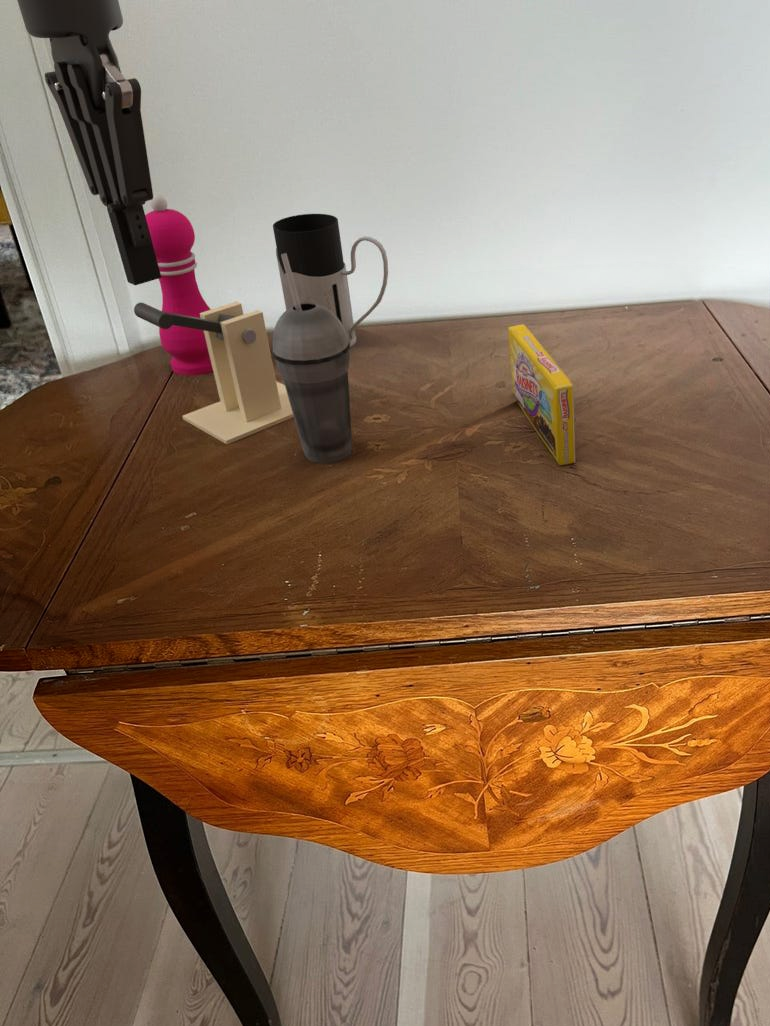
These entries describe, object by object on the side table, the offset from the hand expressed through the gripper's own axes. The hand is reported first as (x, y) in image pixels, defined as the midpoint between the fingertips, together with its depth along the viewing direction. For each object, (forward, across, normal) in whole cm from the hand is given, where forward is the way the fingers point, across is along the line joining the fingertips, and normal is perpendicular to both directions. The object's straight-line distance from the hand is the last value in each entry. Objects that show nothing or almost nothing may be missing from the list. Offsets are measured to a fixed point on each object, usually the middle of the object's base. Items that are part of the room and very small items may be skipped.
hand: (144, 279), depth 89 cm
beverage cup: (+17, +14, +8) cm, 24 cm away
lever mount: (+17, 0, +8) cm, 19 cm away
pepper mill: (+17, -17, +11) cm, 27 cm away
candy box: (+18, +26, +27) cm, 41 cm away
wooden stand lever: (+7, 0, +4) cm, 8 cm away
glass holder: (+18, -8, +26) cm, 33 cm away
